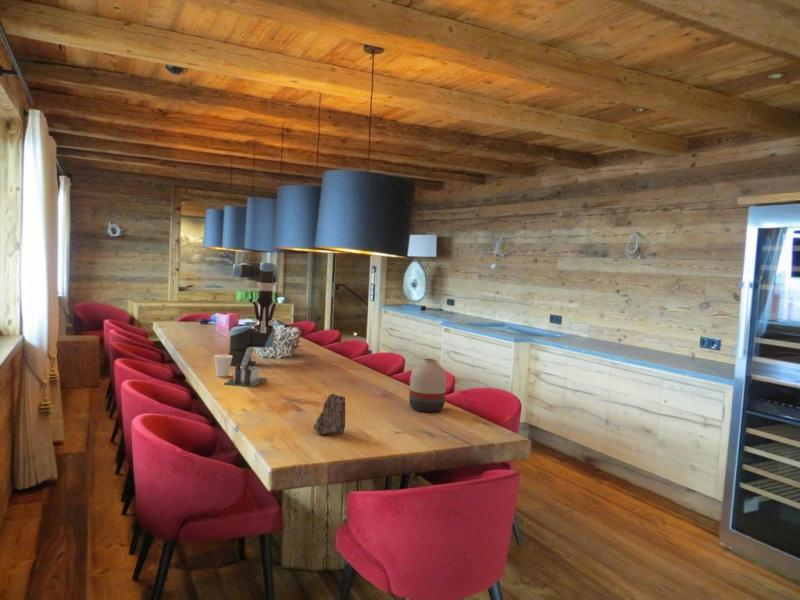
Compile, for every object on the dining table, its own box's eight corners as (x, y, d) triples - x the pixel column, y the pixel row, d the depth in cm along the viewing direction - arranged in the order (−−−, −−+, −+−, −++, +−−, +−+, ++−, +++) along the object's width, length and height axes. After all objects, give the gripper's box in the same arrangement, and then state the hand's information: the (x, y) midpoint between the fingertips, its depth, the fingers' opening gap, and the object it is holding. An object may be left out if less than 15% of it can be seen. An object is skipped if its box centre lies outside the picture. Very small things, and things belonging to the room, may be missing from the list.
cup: (228, 378, 307) (229, 358, 307) (210, 377, 308) (211, 356, 307) (234, 374, 317) (235, 355, 317) (216, 373, 317) (217, 354, 317)
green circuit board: (238, 377, 312) (239, 358, 311) (266, 379, 310) (268, 361, 310) (224, 384, 292) (225, 364, 291) (254, 387, 291) (255, 367, 290)
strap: (247, 349, 304) (247, 347, 304) (253, 349, 304) (253, 348, 303) (238, 370, 294) (238, 368, 293) (245, 370, 294) (244, 369, 293)
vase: (450, 409, 272) (453, 360, 270) (434, 416, 257) (437, 364, 256) (419, 403, 280) (422, 355, 279) (401, 409, 266) (405, 359, 264)
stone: (350, 436, 219) (353, 398, 218) (317, 438, 213) (319, 399, 212) (340, 426, 230) (342, 390, 230) (308, 428, 225) (310, 391, 224)
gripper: (251, 289, 313) (248, 332, 314) (276, 291, 312) (273, 334, 313) (255, 289, 320) (253, 331, 322) (280, 291, 319) (277, 332, 321)
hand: (263, 332), depth 318 cm, fingers closed
